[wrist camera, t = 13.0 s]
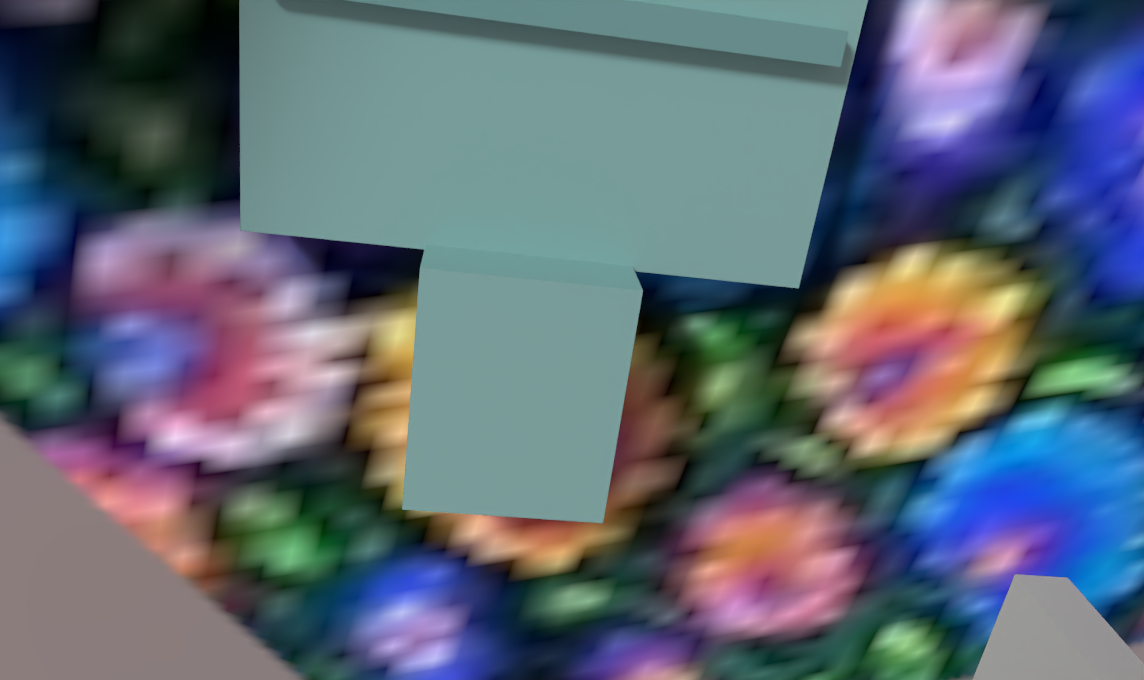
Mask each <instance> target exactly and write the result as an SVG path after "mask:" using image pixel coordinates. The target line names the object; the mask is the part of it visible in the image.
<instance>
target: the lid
mask: <svg viewBox="0 0 1144 680" xmlns="http://www.w3.org/2000/svg"><path fill="white" fill-rule="evenodd" d="M867 2H868V0H239V42H240V231H250V232H260V233H269V234H279V235H289V236H298V237H308V238H317V239H327V240H337V241H346V242H356V243H366V244H375V245H385V246H395V247H404V248H414V249H424V253H423V257H422V262H421V266H420V274H419V287H418V301H417V315H416V328H415V342H414V356H413V369H412V383H411V396H410V410H409V424H408V437H407V451H406V465H405V478H404V492H403V506H402V509H404V510H418V511H433V512H447V513H462V514H476V515H490V516H505V517H519V518H534V519H548V520H562V521H577V522H591V523H603V521H604V515H605V509H606V503H607V497H608V492H609V486H610V480H611V474H612V468H613V463H614V457H615V451H616V445H617V439H618V434H619V428H620V422H621V416H622V410H623V405H624V399H625V393H626V387H627V381H628V375H629V370H630V364H631V358H632V352H633V346H634V341H635V335H636V329H637V323H638V317H639V312H640V306H641V300H642V294H643V289H642V287H641V285H640V282H639V280H638V278H637V275H636V273H635V271H636V272H646V273H655V274H665V275H674V276H684V277H694V278H703V279H713V280H723V281H732V282H742V283H752V284H761V285H771V286H781V287H790V288H799V285H800V281H801V277H802V273H803V268H804V264H805V260H806V256H807V252H808V248H809V244H810V239H811V235H812V231H813V227H814V223H815V219H816V214H817V210H818V206H819V202H820V198H821V194H822V189H823V185H824V181H825V177H826V173H827V169H828V164H829V160H830V156H831V152H832V148H833V144H834V139H835V135H836V131H837V127H838V123H839V119H840V115H841V110H842V106H843V102H844V98H845V94H846V90H847V85H848V81H849V77H850V73H851V69H852V65H853V60H854V56H855V52H856V48H857V44H858V40H859V35H860V31H861V27H862V23H863V19H864V15H865V10H866V6H867Z"/></svg>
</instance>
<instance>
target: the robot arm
mask: <svg viewBox="0 0 1144 680" xmlns="http://www.w3.org/2000/svg"><path fill="white" fill-rule="evenodd" d="M973 680H1144V664H1143V663H1142V661H1141V660H1140V659H1139V658H1138V657H1137V656H1136V655H1135V653H1134V652H1133V651H1132V650H1131V649H1130V648H1129V647H1128V646H1127V644H1126V643H1125V642H1124V641H1123V640H1122V639H1121V638H1120V636H1119V635H1118V634H1117V633H1116V632H1115V631H1114V630H1113V629H1112V627H1111V626H1110V625H1109V624H1108V623H1107V622H1106V621H1105V620H1104V618H1103V617H1102V616H1101V615H1100V614H1099V613H1098V612H1097V610H1096V609H1095V608H1094V607H1093V606H1092V605H1091V604H1090V603H1089V601H1088V600H1087V599H1086V598H1085V597H1084V596H1083V595H1082V594H1081V592H1080V591H1079V590H1078V589H1077V588H1076V587H1075V586H1074V584H1073V583H1072V582H1071V581H1070V580H1069V579H1068V578H1065V577H1049V576H1033V575H1018V574H1015V575H1014V578H1013V580H1012V583H1011V585H1010V588H1009V590H1008V593H1007V595H1006V598H1005V600H1004V603H1003V605H1002V608H1001V610H1000V613H999V615H998V618H997V620H996V623H995V625H994V628H993V630H992V633H991V635H990V638H989V640H988V643H987V645H986V648H985V650H984V653H983V655H982V658H981V660H980V663H979V665H978V668H977V670H976V673H975V675H974V678H973Z"/></svg>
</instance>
